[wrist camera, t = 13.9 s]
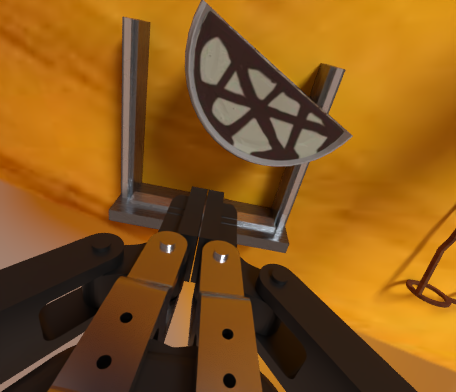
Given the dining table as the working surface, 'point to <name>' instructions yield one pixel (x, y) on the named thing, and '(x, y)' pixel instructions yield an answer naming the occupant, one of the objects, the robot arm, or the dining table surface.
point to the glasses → (423, 283)
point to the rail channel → (162, 196)
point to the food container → (252, 99)
